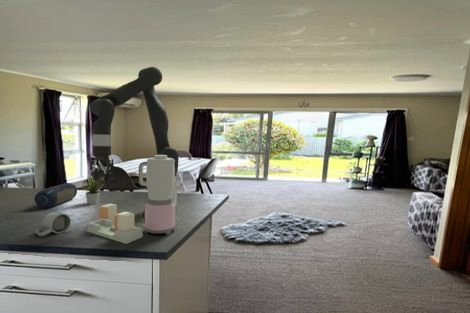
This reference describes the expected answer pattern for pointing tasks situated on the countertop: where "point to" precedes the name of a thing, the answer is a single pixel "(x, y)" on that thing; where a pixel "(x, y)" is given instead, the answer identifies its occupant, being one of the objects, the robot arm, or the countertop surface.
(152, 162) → the blender
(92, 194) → the house plant
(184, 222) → the countertop surface
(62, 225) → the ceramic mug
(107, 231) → the rail
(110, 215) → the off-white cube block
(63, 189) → the portable speaker
